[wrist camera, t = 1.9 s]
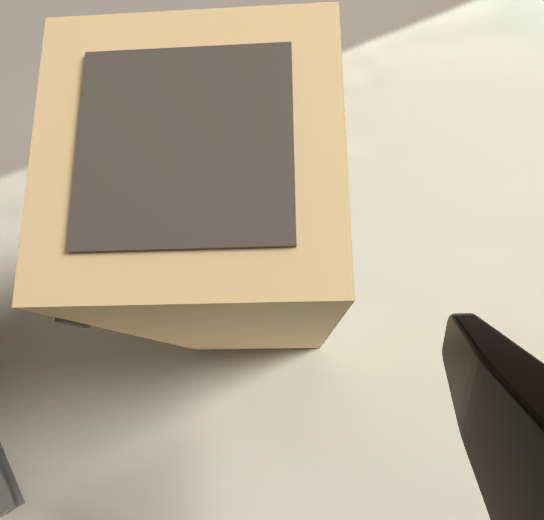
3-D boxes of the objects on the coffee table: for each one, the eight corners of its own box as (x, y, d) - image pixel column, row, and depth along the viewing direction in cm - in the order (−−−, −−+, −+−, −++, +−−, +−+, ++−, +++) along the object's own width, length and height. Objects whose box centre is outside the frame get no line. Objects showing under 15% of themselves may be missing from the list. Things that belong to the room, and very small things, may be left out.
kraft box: (320, 349, 19) (355, 302, 7) (193, 351, 19) (2, 309, 7) (315, 226, 20) (339, -6, 8) (196, 230, 20) (39, 11, 8)
